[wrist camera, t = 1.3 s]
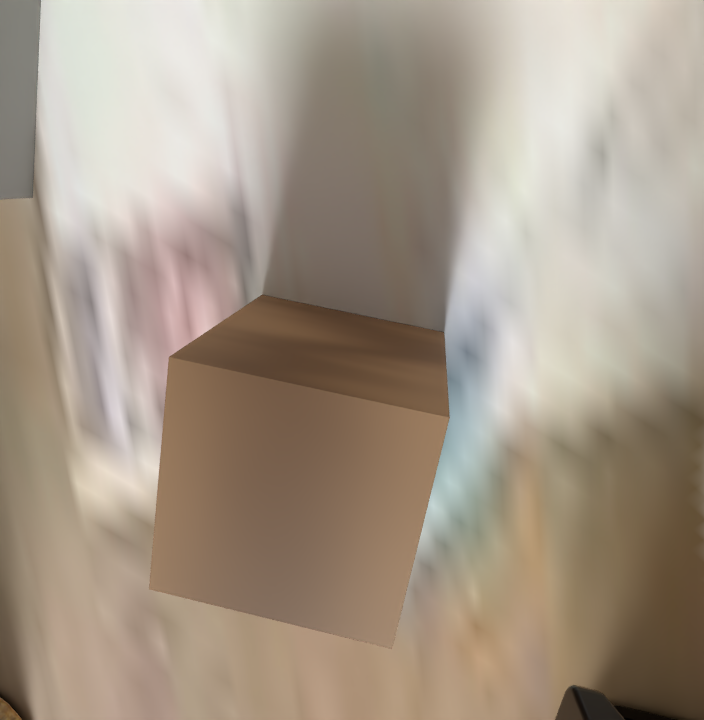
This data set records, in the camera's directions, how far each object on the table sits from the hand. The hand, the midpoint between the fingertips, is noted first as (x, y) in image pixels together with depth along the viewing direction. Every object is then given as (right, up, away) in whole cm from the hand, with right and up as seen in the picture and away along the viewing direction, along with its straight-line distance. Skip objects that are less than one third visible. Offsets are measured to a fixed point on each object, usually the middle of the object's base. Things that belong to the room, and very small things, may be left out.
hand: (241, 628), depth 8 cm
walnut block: (+1, +3, +8) cm, 9 cm away
